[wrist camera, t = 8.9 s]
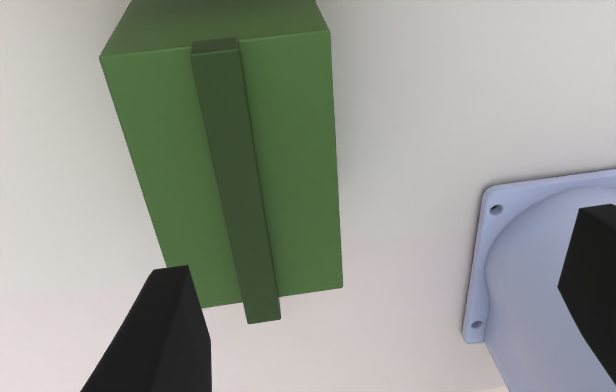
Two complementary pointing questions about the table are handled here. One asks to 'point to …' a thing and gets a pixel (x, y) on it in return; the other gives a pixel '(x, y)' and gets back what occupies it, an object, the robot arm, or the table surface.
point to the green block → (233, 143)
